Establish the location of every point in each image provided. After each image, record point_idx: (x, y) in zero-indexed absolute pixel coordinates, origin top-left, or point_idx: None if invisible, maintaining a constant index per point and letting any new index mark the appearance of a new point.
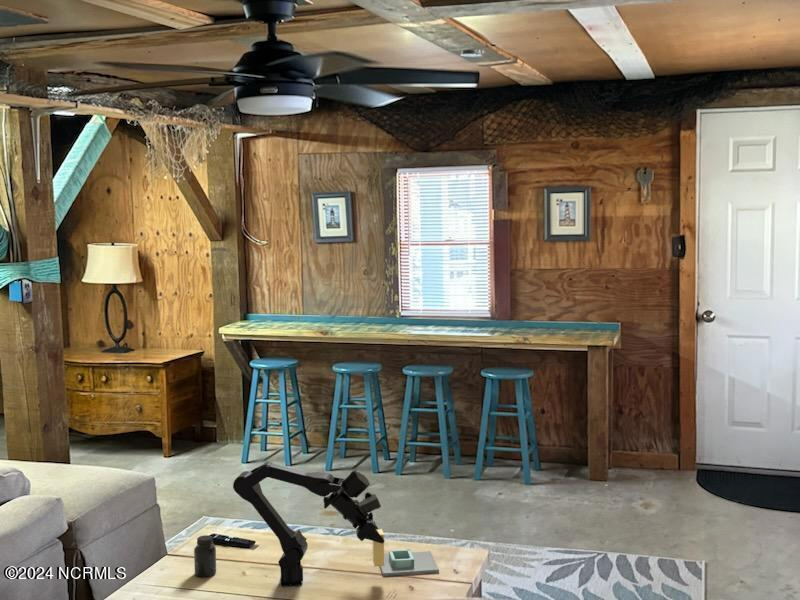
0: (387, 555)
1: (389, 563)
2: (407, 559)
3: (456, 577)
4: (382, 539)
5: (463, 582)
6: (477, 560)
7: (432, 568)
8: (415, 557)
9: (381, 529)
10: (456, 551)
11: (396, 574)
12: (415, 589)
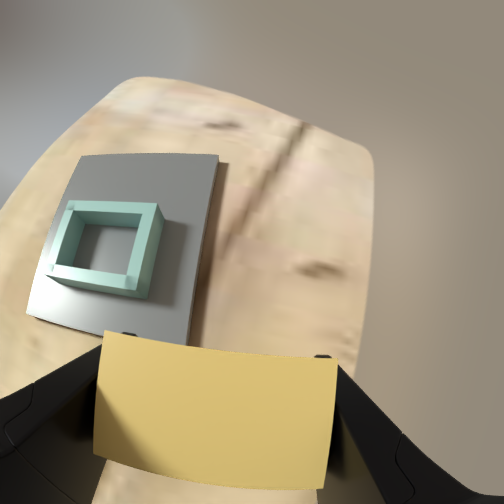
0: (43, 283)
1: (101, 297)
2: (147, 226)
3: (267, 133)
4: (347, 381)
5: (305, 129)
6: (178, 84)
7: (202, 168)
8: (96, 199)
9: (116, 342)
10: (107, 111)
11: (193, 297)
12: (338, 260)
